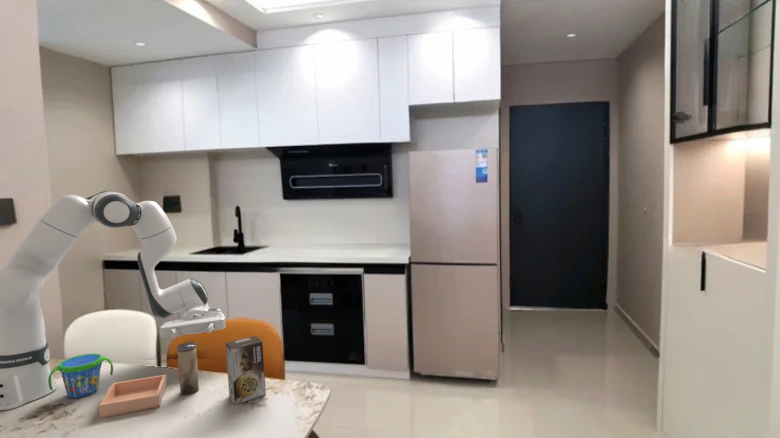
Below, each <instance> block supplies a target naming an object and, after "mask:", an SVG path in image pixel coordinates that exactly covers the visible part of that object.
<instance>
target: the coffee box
mask: <svg viewBox="0 0 780 438" xmlns="http://www.w3.org/2000/svg"><path fill="white" fill-rule="evenodd" d="M263 343H264V342H263V341H262V340H261V338H259V337H258V336H257V335H252V336H249V337H245V338H241V339H236V340H235V339H234V340H232V341H228V342H225V351H226V352H225V353H226V367H227V381H228V382H227V383H228V396H229V398H230V400H231V402H232V403H233V405H237V404H240V403H244V402H247V401H250V400H253V399H256V398H259V397H263V396H265V395H266V394H267V391H266V390H267V389H266V378H265V377H266V376H265V364H264V362H265V360H264V359H265V358H264V346H263V345H264V344H263Z"/></svg>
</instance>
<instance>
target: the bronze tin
mask: <svg viewBox="0 0 780 438" xmlns="http://www.w3.org/2000/svg"><path fill="white" fill-rule="evenodd" d="M197 345H198V344H197V342H193V341H191V342H185V343H181V344H179V345H177V346H176V350H177V359H178V360H177V361H178V362H177V363H178V376H179V378H178V379H179V380H178V381H179V391H180V392H179V394H180V395H181V396H191V395H194V394H196V393H197V392H199V390H200V385H199V371H198V369H199V367H198V353H197Z"/></svg>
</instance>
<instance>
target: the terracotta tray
mask: <svg viewBox="0 0 780 438" xmlns="http://www.w3.org/2000/svg"><path fill="white" fill-rule="evenodd" d="M167 386H168V384H167V374H161V375H156V376H155V375H154V376H149V377H142V378H136V379H129V380H123V381H117V382H113V383H112V384H111V386H110V387H109V388H108V390H107V392H106V394H105V395H104V397H103V399H102V400H101V402H100V403H99V405H98V411H99V419H103V418H109V417H113V416H114V417H115V416H119V415H124V414H129V413H134V412H140V411H141V412H142V411H146V410H152V409H157V408H160V407H161V405H162V401H163V398H164V395H165V392H166V389H167Z"/></svg>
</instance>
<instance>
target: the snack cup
mask: <svg viewBox="0 0 780 438" xmlns="http://www.w3.org/2000/svg"><path fill="white" fill-rule="evenodd" d="M104 361H107V362H108V363H109V364H110V372H109V373H110V376H113V373H114V366H113V362H112V360H111V359H110V358H109V357H108V356H104V355H102V354H100V353H87V354H86V353H85V354H80V355H76V356H72V357H70V358H67V359H64V360H63V361H61V362H60V363H58V365H57V366H56V367H54V368H53V369H52V370H51V373H50V375H49V378H48V384H49V388H50V390H53V389H52V385H51V375H52V376H53V374H55V372H57V371H59V372H60V373H61V377H62V381H63V384H64V388H65V392H66V395H67V397H69V398H71V399H72V398H74V399H78V398H82V397H86V396H87V395H92V394H94V393H95V392H96V391H97V390H98V389H99V385H100V376H101V375H100V374H101V368H102V364H103V362H104ZM53 391H54V390H53Z"/></svg>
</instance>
